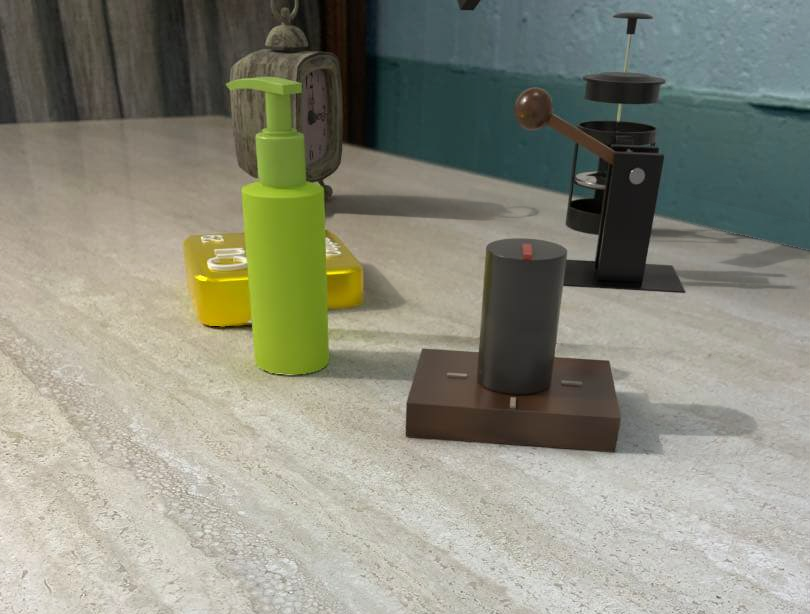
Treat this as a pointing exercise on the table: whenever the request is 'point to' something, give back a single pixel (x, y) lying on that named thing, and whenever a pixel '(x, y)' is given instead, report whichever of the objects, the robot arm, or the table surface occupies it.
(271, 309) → the soap dispenser
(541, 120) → the lever
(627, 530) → the table surface
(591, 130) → the french press
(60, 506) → the table surface
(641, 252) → the bracket
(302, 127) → the tabletop clock
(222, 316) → the element tile
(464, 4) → the robot arm
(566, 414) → the panel
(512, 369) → the knob
